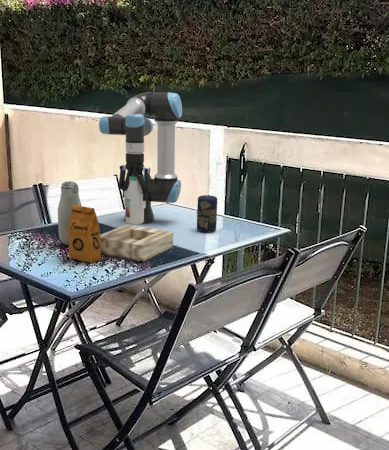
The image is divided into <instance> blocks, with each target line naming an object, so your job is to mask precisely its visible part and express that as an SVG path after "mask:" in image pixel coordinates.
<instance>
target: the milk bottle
mask: <svg viewBox="0 0 389 450" xmlns="http://www.w3.org/2000/svg"><path fill="white" fill-rule="evenodd" d="M129 181H130V184H129V187H128V189H127V192H126V199H125V206H124V208H125V209H124V210H125V211H124V212H125V213H124V221H125V220H126V221H125V223H126V224H128V225H142V224H141V223H143V222H144V209H141V193H142V190H141V187H140V184H139V181H138V178H137V177H136V176H135V175H131V176H129Z"/></svg>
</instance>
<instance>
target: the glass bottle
mask: <svg viewBox="0 0 389 450" xmlns="http://www.w3.org/2000/svg"><path fill="white" fill-rule="evenodd" d="M79 192H80V191H79V185H78V183H77V182H75V181H64V182H62V184H61V186H60V197H59V198H60V200H59V202H58V207H57V224H58V225H57V226H58V237H59V238H58V239H59V240H60V242H61V243H62V244H63V245H67V246H69V239H68V223H69V219H70V215H71V212H72V209H71V206H72V205H76V206H82V202H81V199H80V194H79Z"/></svg>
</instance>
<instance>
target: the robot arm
mask: <svg viewBox="0 0 389 450" xmlns="http://www.w3.org/2000/svg"><path fill="white" fill-rule="evenodd" d="M182 115H183V105H182V99H181V97H180V95H179V94H178V93H176V92H169V91H168V92H161V91H159V92H156V91H146V92H142V93H139V94H136V95H134V96H132V97H131V98H129V99H128V100H127V101H126V104H125V105H124V106H123V107H121V108H120V109H118V110H117V111H116V112H115V113H113V114H112V115H110V116H109V115H108V116H107V115H105V116H101V117H100V119H99V122H98V129H99V132H100V133H101V134H102V135H114V136H119V135H120V136H125V152H126V153H125V162H126V163H125V164H124V165H123V164H122V165H119V171H120V172H119V178H118V180H119V181H118V187H117V188H118V189H119V190H122V198H123V206H124V207H125V199H126V192H127V189H128V187H129V184H130V181H129V176H131V175H135V176H136V177H137V178H138V181H139V184H140V187H141V190H142V193H141V209H144V222H143V223H141V224H140V225H145V224H150V223H153V222H155V215H154V212H153V209H152V202H153V203H165V204H175V203H176V202H177V201H178V200H179V198H180V193H181V188H182V182H181V180H179V179H178V175H177V174H176V173H175V168H176V167H175V164H176V163H175V161H176V160H175V159H176V158H175V155H176V154H175V153H176V151H175V150H176V146H175V145H176V124H177V123H178V122H179V119H180V118H181V117H182ZM148 117H152V118H153V119H154V122H155V123H156V125H157V139H156V140H157V141H156V143H157V152H156V153H157V159H156V161H157V163H156V164H157V169H156V173H155V175H154V177H153V178H152V176H151V175H150V173H151V168H150V167H146V166H145V165H144V163H145V154H144V152H145V137H146V136H148V135H150V134H151V133H152V132H153V129H154V125H153V121H152V120H151V119H150V118H148ZM126 171H127V172H126ZM124 221H125V222H126V220H125V219H124Z"/></svg>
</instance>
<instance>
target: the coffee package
mask: <svg viewBox="0 0 389 450" xmlns="http://www.w3.org/2000/svg"><path fill="white" fill-rule="evenodd" d="M71 209H72V212H71V215H70V219H69V223H68V239H69V245H68V253H69V255H68V258H69V259H74V260H77V261H80V262H85V263H90V264H93V263H96V262H97V261H98V262H99V261H101V259H102V254H101V238H100V235H101V231H100V230H101V229H100V225H99V220H98V216H97V213H96V209H95V208H94V207H90V206H89V207H87V206H82V205H81V206H76V205H72V206H71Z"/></svg>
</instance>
